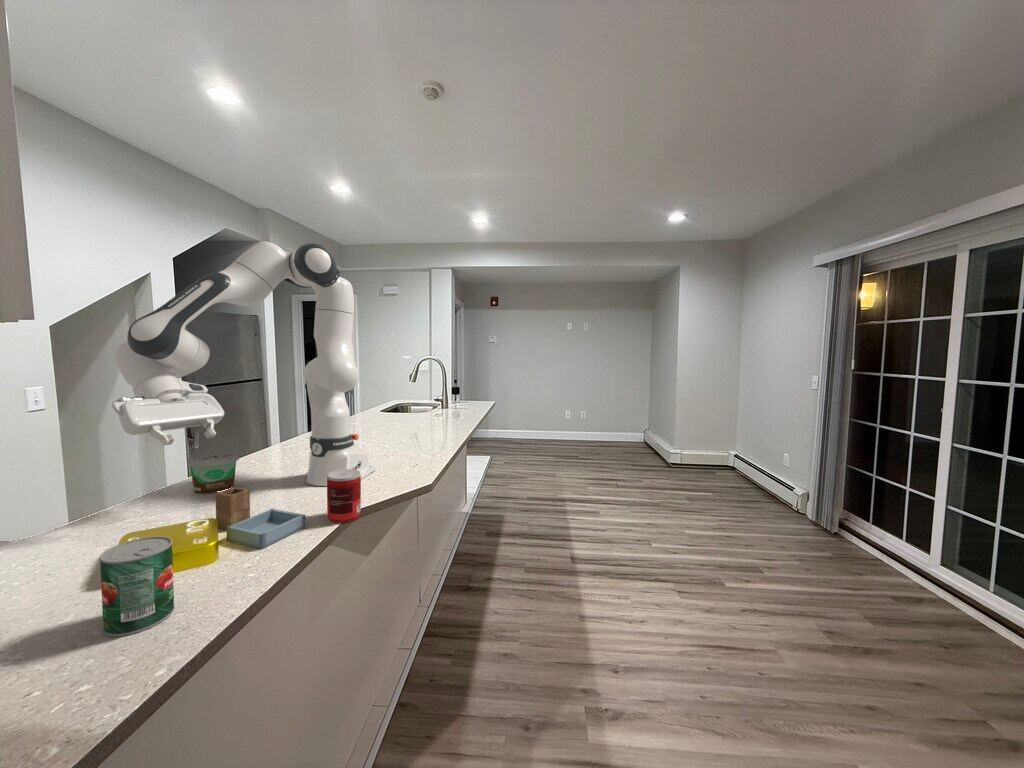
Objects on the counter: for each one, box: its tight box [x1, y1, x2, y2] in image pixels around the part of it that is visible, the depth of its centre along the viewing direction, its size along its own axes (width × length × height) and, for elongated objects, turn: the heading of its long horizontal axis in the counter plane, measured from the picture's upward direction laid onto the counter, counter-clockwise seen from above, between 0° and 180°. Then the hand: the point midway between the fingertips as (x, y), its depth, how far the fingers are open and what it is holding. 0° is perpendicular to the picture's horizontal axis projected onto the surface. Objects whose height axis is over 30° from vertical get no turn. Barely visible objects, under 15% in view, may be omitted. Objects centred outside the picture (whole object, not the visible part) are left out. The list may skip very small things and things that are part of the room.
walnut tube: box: [214, 486, 251, 531], centre depth 91 cm, size 5×5×8 cm
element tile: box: [117, 517, 220, 574], centre depth 77 cm, size 15×15×5 cm
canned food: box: [326, 469, 362, 524], centre depth 98 cm, size 8×8×11 cm
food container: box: [186, 450, 240, 494], centre depth 113 cm, size 12×6×10 cm, turn 143°
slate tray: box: [226, 508, 307, 550], centre depth 88 cm, size 11×10×3 cm
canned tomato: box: [99, 536, 175, 637], centre depth 59 cm, size 8×8×11 cm
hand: (191, 439), depth 94 cm, fingers open, 8 cm apart
